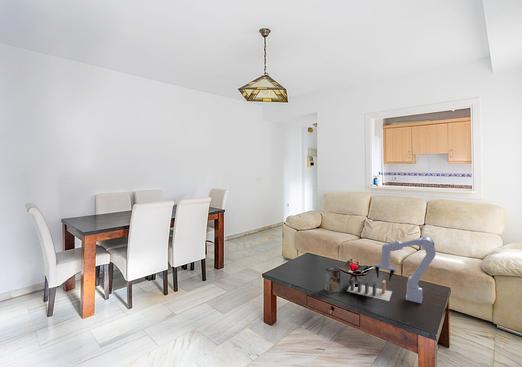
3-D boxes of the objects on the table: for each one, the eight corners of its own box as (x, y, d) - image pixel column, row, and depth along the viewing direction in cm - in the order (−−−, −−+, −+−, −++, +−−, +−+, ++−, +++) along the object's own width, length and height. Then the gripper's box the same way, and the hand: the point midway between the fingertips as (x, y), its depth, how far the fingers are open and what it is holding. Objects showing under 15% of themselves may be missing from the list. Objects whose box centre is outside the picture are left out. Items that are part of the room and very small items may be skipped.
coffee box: (335, 288, 203) (336, 267, 202) (340, 291, 197) (340, 270, 196) (324, 289, 201) (324, 268, 200) (329, 293, 195) (329, 271, 194)
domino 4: (376, 293, 193) (376, 282, 193) (374, 296, 189) (375, 284, 189) (373, 292, 194) (374, 281, 194) (372, 295, 190) (372, 284, 190)
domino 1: (354, 288, 202) (354, 277, 201) (352, 290, 197) (352, 280, 197) (352, 287, 202) (352, 277, 202) (350, 290, 198) (350, 279, 198)
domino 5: (385, 291, 197) (385, 280, 196) (384, 293, 192) (384, 282, 192) (383, 290, 198) (383, 279, 197) (381, 293, 193) (382, 282, 193)
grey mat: (392, 292, 196) (392, 291, 196) (388, 301, 182) (388, 301, 182) (352, 283, 211) (352, 282, 211) (346, 291, 197) (346, 290, 197)
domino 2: (361, 289, 199) (361, 279, 198) (360, 292, 195) (360, 281, 194) (359, 289, 200) (359, 278, 199) (357, 292, 196) (357, 281, 195)
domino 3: (368, 291, 196) (369, 280, 196) (367, 294, 192) (367, 283, 191) (366, 290, 197) (366, 280, 197) (365, 293, 193) (365, 282, 192)
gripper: (397, 261, 193) (395, 279, 194) (375, 256, 200) (373, 274, 201) (396, 264, 187) (394, 283, 188) (374, 259, 194) (372, 277, 195)
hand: (383, 278), depth 194 cm, fingers open, 7 cm apart
